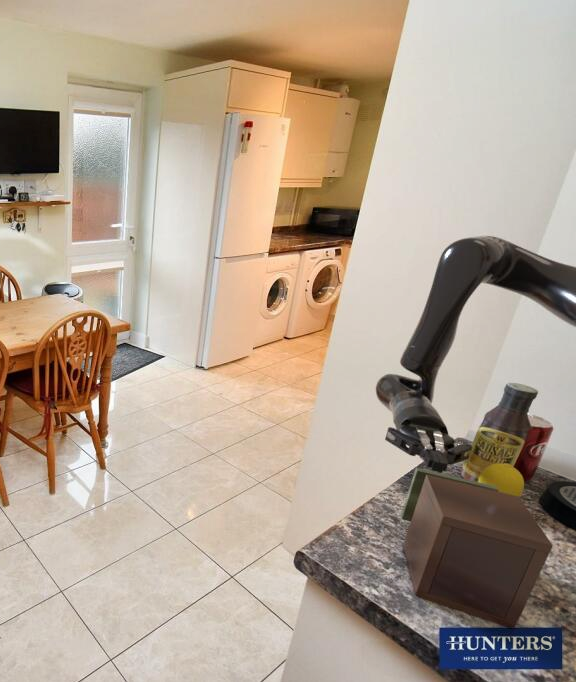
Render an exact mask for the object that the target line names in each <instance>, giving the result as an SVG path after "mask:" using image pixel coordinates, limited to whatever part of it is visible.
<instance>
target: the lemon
mask: <svg viewBox="0 0 576 682" xmlns="http://www.w3.org/2000/svg"><path fill="white" fill-rule="evenodd" d="M478 482H480V483H484V484H488V485H492V486H496V487H497V488H498V490H499V491H498V492H502V493H506V494H510V495H514V496H519V497H520V498H521V496H522V494H523V492H524V488H525V483H524V480H523V477H522V475H521V474H520V472H519V471H518V470H517V469H515V468H514V467H512V466H511V465H510V464H507V463H505V464H501V463H497V464H492V465H489V466H487V467H486V468H485V469H484V470H483V471H482V472H481V474H480V476H479V479H478Z"/></svg>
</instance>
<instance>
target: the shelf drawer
mask: <svg viewBox="0 0 576 682" xmlns="http://www.w3.org/2000/svg"><path fill="white" fill-rule="evenodd" d="M426 474H427V475H431V476H436V477H440V478H444V479H448V480H452V481H456V482H460V483H465V484H469V485H473V486H477V487H481V488H485V489H490V490H494V491H499V490H498V488H497V487H496V486H492V485H488V484H484V483H480V482H475V481H471V480H467V479H464V478H463V477H458V476H455V475H454V476H453V475H450V474H446V473H443V472H442V473H439V472H435V471H431V470H430V469H424V468H420V467H416V468H415V469H414V473H413V477H412V479H411V482H410V485H409V488H408V492H407V495H406V497H405V501H404V505H403V507H402V510H401V513H400V518H401V520H403V521H407V522H410V523H411V520H412V517H413V514H414V511H415V508H416V505H417V502H418V499H419V496H420V493H421V490H422V486H423V483H424V480H425V477H426Z"/></svg>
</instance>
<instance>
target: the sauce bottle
mask: <svg viewBox="0 0 576 682" xmlns="http://www.w3.org/2000/svg"><path fill="white" fill-rule="evenodd" d="M538 394H539V391H538V390H537V389H536V388H534V387H532V386H529V385H527V384H523V383H517V382H507V383H506V384H505V386H504V388H503V394H502V397H501V399H500V401H499V403H498V405H497V406H495V407H493V408H491V409H490V410H489V411H487V412H486V413H485V414H484V416H483V420H482V422H481V423H480V425H479V426H478V429H477V431H476V433H475V435H474V438H473V441H472V442H471V445H472V446H473V447H472V450H471V453H470V455H469V458H468V459H466V460H464V461H463V463H462V468H461V471H460V476H461V478H463V479H467V480H471V481H475V482H478V479H479V476H480V474H481V472H482V471H483V470H484V469H485V468H486V467H487V466H489V465H492V464H497V463H501V464H505V463H507V464H510V465H511V466H512V467H513V466H514V464H515V462H516V460H517V458H518V456H519V454H520V452H521V450H522V447H523V445H524V443H525V439H526V437H527V435H528V433H529V430H530V428H531V424H530V422H529V419H528V416H527V413H529V412H530V408H531V405H532V403H533V401H534V400H535V399H536V398H537V396H538Z"/></svg>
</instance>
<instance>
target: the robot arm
mask: <svg viewBox="0 0 576 682" xmlns="http://www.w3.org/2000/svg"><path fill="white" fill-rule="evenodd" d="M481 284H485V285H486V284H487V285H489V286H493V287H497V288H501V289H503V290H507V291H510V292H513V293H516V294H518V295H520V296H524V297H526V298H528V299H530V300H532V301H533V302H536V304H538V305H539V306H541V307H542V308H544V309H545V310H546V311H548V312H549V313H551V314H552V315H553V316H555V317H557V318H558V319H559V320H561V321H562V322H564V323H566V324H568V325H570V326H571V327H574V328H576V266H574V265H569V264H565V263H563V262H559V261H555V260H553V259H550V258H547V257H545V256H542V255H541V254H539V253H536V252H533V251H532V250H528V249H526V248H524V247H522V246H520V245H517V244H516V243H513V242H511V241H509V240H506V239H504V238H502V237H498V236H493V235H480V236H479V235H478V236H469V237H464V238H461V239H458V240H456V241H455V240H454V242H452V243H450V244H449V245H448V246H446V247H445V249H444V250H443V251H442V252H441V254H440V257H439V260H438V263H437V265H436V269H435V273H434V276H433V280H432V284H431V287H430V290H429V292H428V293H429V294H428V296H427V299H426V302H425V305H424V308H423V310H422V313H421V315H420V318H419V320H418V322H417V325H416V327H415V329H414V331H413V333H412V335H411V337H410V339H409V340H408V342H407V344H406V346H405V348H404V350H403V352H402V355H401V356H400V359H399V363H400V366H401V367H402V368H403V369H405V370H406V371H408V372H410V373H412V374H414V375H416V376H418V377H419V379H415V378H411V377H407V376H406V375H405V376H404V375H401V374H397V373H387V374H384V375H382V376H381V377H380V378H379V379H378V380H377V382H376V384H375V395H376V398H377V400H378V401H379V402H380V404H381V405H383V406H384V407H385V409H387V410H388V411H390V412H391V413H392V421H393V424H394V426H395V428H394V427H390V426H388V428H387V431H386V435H385V438H384V440H385V441H386V442H388V443H390V444H391V445H393V446H394V447H396V448H398V449H399V450H401V451H402V452H404V453H406V454H407V455H409V456H412V457H416V456H418V457H419V458H420V459H421V460H422V461H423V463H424V465H425V467H427V468H428V469H429V471H433V472H437V473H442V474H443V472H446V471H447V468H448V465H450V466H453V465H456V464H458V463H461V462H464V461H465V460H466V459H468V458H469V455H470V453H471V450H472V447H473V446H472V444H469V443H456V440H455V439H454V438H453V437H452V436H451V435H450V434H449V431H448V427H447V425H446V424H445V422H444V420H443V418H442V417H441V415H440V413H439V412H438V411H437V409H436V408H435V407H434V406H433V404H432V403H433V401H434V395H435V388H436V387H435V386H436V381H437V377H438V374H439V370H440V368H441V366H442V365H443V363H444V361H445V360H446V358H447V356H448V355H449V352H450V350H451V348H452V346H453V344H454V341H455V339H456V335H457V330H458V324H459V321H460V317H461V314H462V312H463V309H464V308H465V305H466V304H467V302H468V301H469V299H470V298H471V296H472V295H474V292H475V291H476V290H477V288H478V287H479V286H480V285H481Z"/></svg>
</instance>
